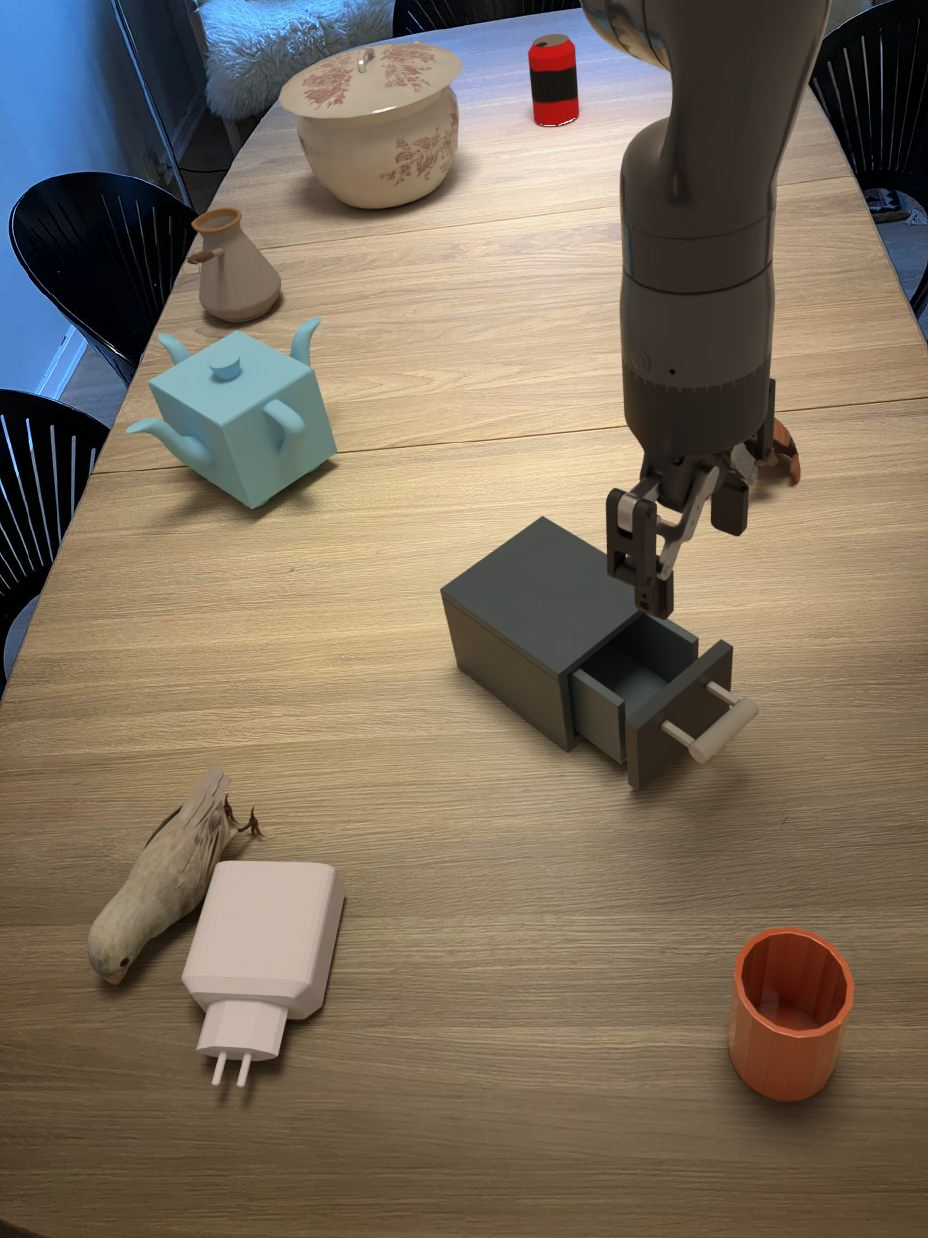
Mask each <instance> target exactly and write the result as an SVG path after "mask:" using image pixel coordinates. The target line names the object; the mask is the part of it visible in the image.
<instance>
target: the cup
mask: <svg viewBox="0 0 928 1238" xmlns="http://www.w3.org/2000/svg"><path fill="white" fill-rule="evenodd" d="M731 991H732V992H731V1002H730V1012H729V1021H728V1022H729V1023H728V1034H727V1044H728V1052H729V1057H730V1061H731V1063H732V1065H733V1067H734V1069H735V1071H736V1072H737V1074H738V1076H739V1077H740V1078H741V1079H742V1081H743V1082H744V1083H745V1084H746V1085H747V1086H748V1087H749V1088H751V1090H753V1091H755V1092H756V1093H758V1094H759V1095H762V1096H763V1097H766V1098H767V1099H771V1100H774V1101H778V1102H785V1103H786V1102H787V1103H790V1102H792V1103H793V1102H800V1101H804V1100H807V1099H809V1098H811V1097H814V1096H815V1095H816V1094H817V1093H819V1092H820V1091H821V1090H822V1089H823V1088H824V1087H825V1086H826V1085H827V1083H828V1082H829V1080H830V1078H831V1076H832V1074H833V1072H834V1070H835V1067H836V1063H837V1060H838V1056H839V1053H840V1050H841V1046H842V1043H843V1040H844V1036H845V1033H846V1030H847V1026H848V1022H849V1020H850V1016H851V1013H852V1009H853V1005H854V995H855V981H854V978H853V976H852V972H851V970H850V967H849V963H848V962H847V960H846V959H845V958H844V957H843V955H841V953H840V952H839V951H838V950H837V948H836V947H835V946H834V945H833V944H832V943H830V942H829V941H827V940H826V939H824V937H821V936H819V935H818V934H817V933H815V932H812V931H809V930H805V929H801V928H797V927H793V926H785V927H775V928H768V929H765V930H763V931H762V932H760V933H759V934H756V935H755V936H753V937H751V938H750V939H748V940H747V942H746V943H745V945H744V946H743V947H742V948H741V950H740V951H739V953H738V954H737V956H736V961H735V967H734V972H733V980H732V990H731Z"/></svg>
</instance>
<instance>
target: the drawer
mask: <svg viewBox="0 0 928 1238" xmlns="http://www.w3.org/2000/svg"><path fill="white" fill-rule="evenodd" d="M699 640H700V638H699V636H696V635H695V634H693V633H692V632H690V631H689V630H687V629H686V628H683V626H680V625H679V624H677V623H676V622H674V621H673V620H672V619H670V618H669V617H668V618H667V619H666V620H662V619H659V618H656V617H654V616H652V615H650V614H647V613H644V614H642V615H641V616H640V617H639V618H637V619H636V620H635V621H634V622H632V623H631V624H630V625H629V626H628V627H626V628H625V629H624V630H623V631H621V632H620V633H619V634H618V635H616V636H615V637H614V638H613V639H611V640H610V641H609V642H608V643H606V644H605V645H604V646H603V647H601V648H600V649H599V650H598V651H597V652H595V653H594V654H593V655H592V656H590V657H589V658H588V659H587V660H585V661H584V662H583V663H582V664H580V665H579V666H578V667H577V668H575V669H574V670H573V671H572V672H571V673H569V674H568V675H567V679H568V688H569V696H570V705H571V714H572V723H573V729H575V730H576V731H577V732H579V733H580V734H581V735H583V736H584V737H585V738H584V739H587V740H588V741H589V742H590V743H592V744H593V745H594V746H595V747H597V748H598V749H600V751H602V752H604V753H605V754H607V755H608V756H609V757H610V758H612V759H613V760H614V761H616V762H617V763H618V764H620V765H623V764H624V763H625V762H626V769H627V785H629V787H631V788H633V789H634V790H635V791H636V792H637V793H639V794H640V793H641V792H642V791H643V790H645V789H646V788H647V787H648V786H649V785H650V784H651V783H653V781H654V780H656V779H657V778H658V777H659V776H661V774H663V773H664V772H665V771H666V770H667V769H668V768H669V767H670V766H671V765H672V764H674V762H676V761H677V760H678V759H679V758H680V757H682V755H684V753H686V752H687V751H688V753H689V754H690V756H691V757H692V759H694V760H695V761H696V762H697V763H700V764H705V763H707V762H708V761H709V760H710V759H711V758H713V757H714V755H716V754H717V753H718V752H719V751H720V750H721V749H722V748H723V747H725V745H727V744H728V743H729V742H730V741H731V740H732V739H733V738H734V737H735V736H736V735H737V734H738V733H739V732H741V731H742V730H743V729H744V728H745V727H746V726H747V725H749V723H751V722H752V721H753V720H754V719H755V718H756V717H757V716H758V715H759V714H760V707H759V705H758V704H757V703H756V702H755V700H754V699H752V698H750V697H747V696H744V697H742V698H739V697H738V696H737V695H735V694H733V693H732V692H731V691H732V678H733V677H732V675H733V662H734V661H733V660H734V646H733V645H732V644H731V643H729V642H727V641H725V640H724V639H722V638H720V639H719V640H718V641H716V642H715V644H713V645H712V646H711V647H710V648H709V649H707V650H706V651H705V652H704V653H702V655H700V656H699V653H700V652H699V650H700V649H699V647H700V641H699Z"/></svg>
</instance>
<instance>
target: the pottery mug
mask: <svg viewBox="0 0 928 1238" xmlns="http://www.w3.org/2000/svg"><path fill="white" fill-rule="evenodd" d="M751 437H753V438H756V439H757V434H756V433H755V434H753V435H752V436H751ZM776 454H778V455H780V454H781V455H783V456H786V457H788V458H789V459H791V463H790V467H789V473H790V475H792V481H793V483H794V484H798V483H799V482H800V478H801V472H802V470H801V468H802V467H801V462H800V456H799V452H798V448H797V445H796V443H795V441H794V439H793V437H792V435H791V432H790V431H789V429H788V428H787V427H786V426H785V425H784V424H783V423H782V422H781V421H780V420H779V419H778V418H776V417H775V416H774V437H773V450H772V454H771V456H770V458H769V459H768V460H767V461H766V462H763V461H760V460H759V461H758V462H757V464H756V467H757V468H764V467H765V468H766V467H770V468H771V467H772V468H773V467H775V466H776V465H778V463H779V462H780V459H779V458H778V457H777V455H776Z"/></svg>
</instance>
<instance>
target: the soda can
mask: <svg viewBox="0 0 928 1238" xmlns="http://www.w3.org/2000/svg"><path fill="white" fill-rule="evenodd" d="M576 54H577V53H576V45H575V44H574V43H573V41H572V40H571V39H570V37H569V36H568V35H566V34H562V33H552V34H551V33H550V34H545V35H542V36H540V37H537V38H535V39H533V41H532V44H531V45H530V48H529V49H528V51H527V58H528V68H529V79H530V80H529V82H530V89H531V90H530V91H531V101H532V113H533V120H534V122H535V123H536V124H538V123H539V124H542V125H559V124H561V123H564V122H566V121H569V120H571V119H573V118H576V117H577V118H578V116H579V115H580V103H579V89H578V88H579V87H578V85H579V84H578V72H577V71H578V70H577V55H576ZM578 114H579V115H578ZM577 118H576V119H577ZM539 124H538V125H539Z"/></svg>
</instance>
